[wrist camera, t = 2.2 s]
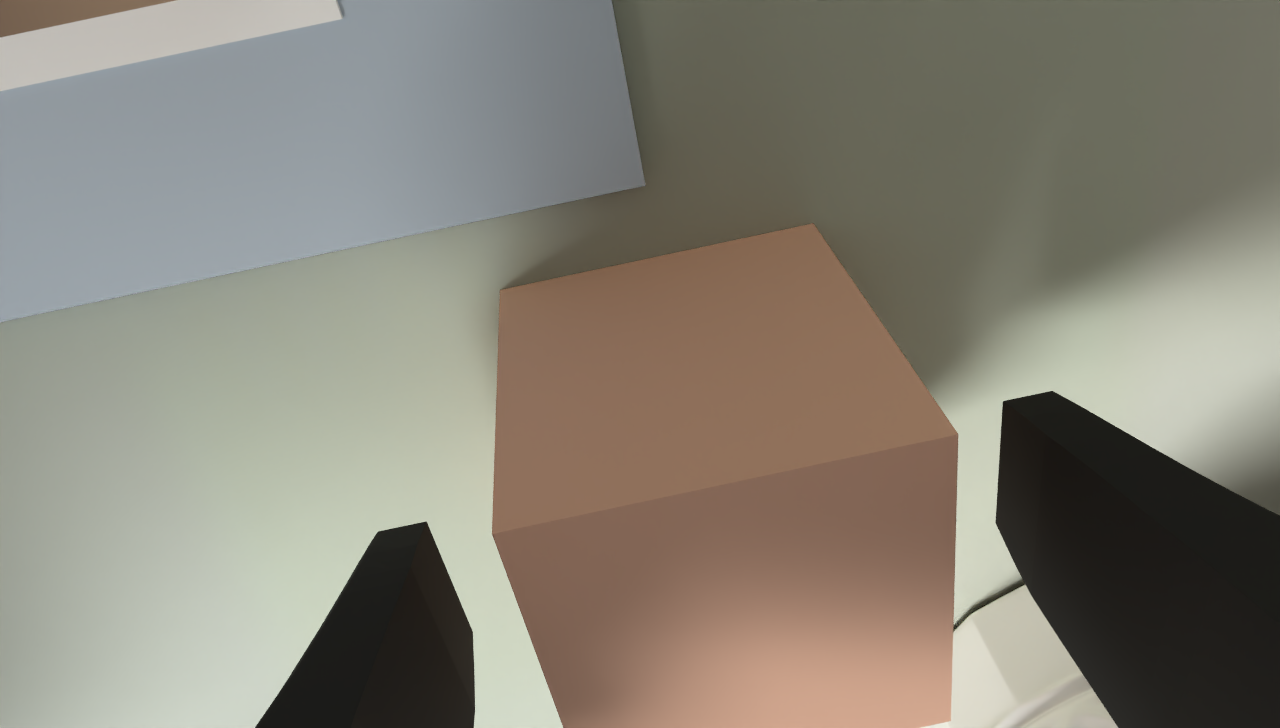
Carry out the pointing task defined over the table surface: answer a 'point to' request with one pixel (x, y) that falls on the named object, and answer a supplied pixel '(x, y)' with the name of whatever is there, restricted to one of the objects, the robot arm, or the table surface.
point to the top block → (724, 495)
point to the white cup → (1017, 672)
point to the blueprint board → (292, 133)
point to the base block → (59, 12)
